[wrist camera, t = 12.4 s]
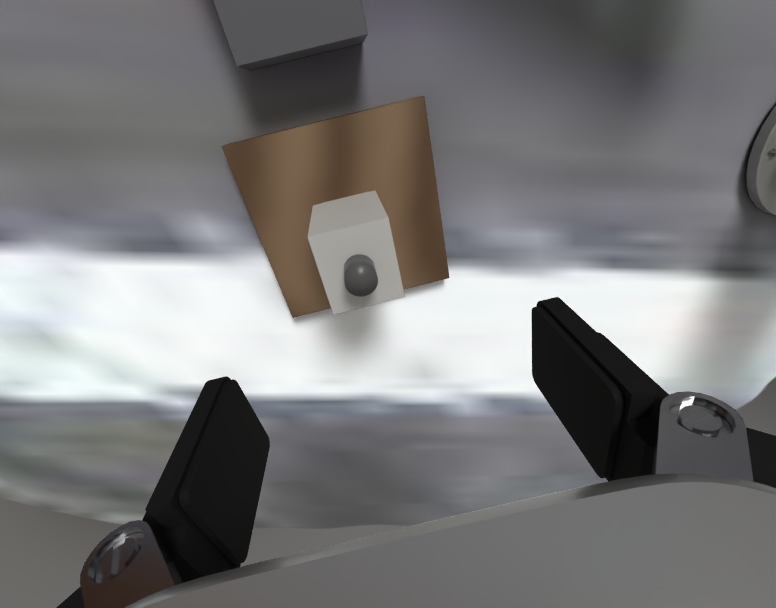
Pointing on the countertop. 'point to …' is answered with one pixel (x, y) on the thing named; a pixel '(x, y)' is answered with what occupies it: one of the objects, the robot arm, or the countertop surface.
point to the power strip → (288, 28)
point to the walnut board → (343, 191)
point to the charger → (355, 252)
